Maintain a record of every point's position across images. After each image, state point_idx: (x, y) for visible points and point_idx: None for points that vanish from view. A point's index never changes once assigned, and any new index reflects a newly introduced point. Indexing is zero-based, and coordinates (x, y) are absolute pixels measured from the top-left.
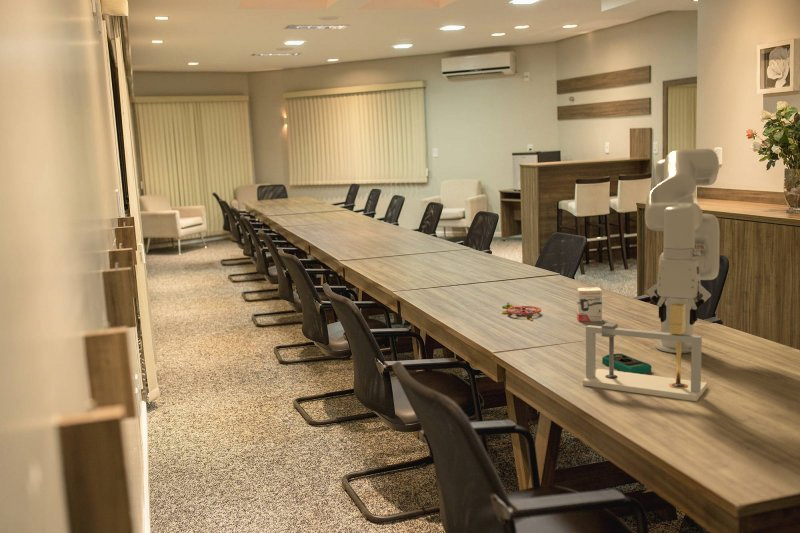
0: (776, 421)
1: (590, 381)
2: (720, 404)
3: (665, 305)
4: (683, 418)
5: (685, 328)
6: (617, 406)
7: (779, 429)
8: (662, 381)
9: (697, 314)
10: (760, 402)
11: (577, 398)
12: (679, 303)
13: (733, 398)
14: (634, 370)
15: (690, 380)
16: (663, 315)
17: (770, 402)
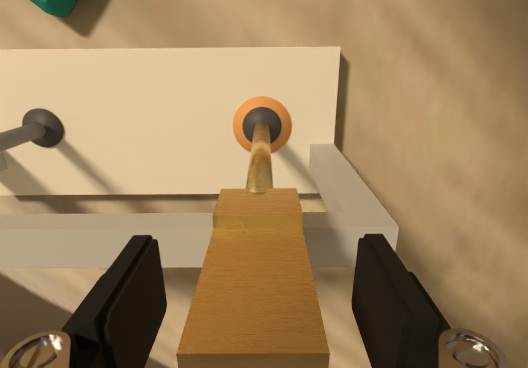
0: (519, 243)
1: (18, 194)
2: (389, 183)
3: (98, 334)
4: (321, 304)
5: (297, 194)
6: (167, 295)
7: (519, 285)
8: (204, 102)
9: (429, 296)
10: (495, 120)
11: (60, 284)
12: (256, 362)
13: (421, 117)
14: (64, 4)
15: (283, 48)
16: (152, 344)
17: (523, 107)
